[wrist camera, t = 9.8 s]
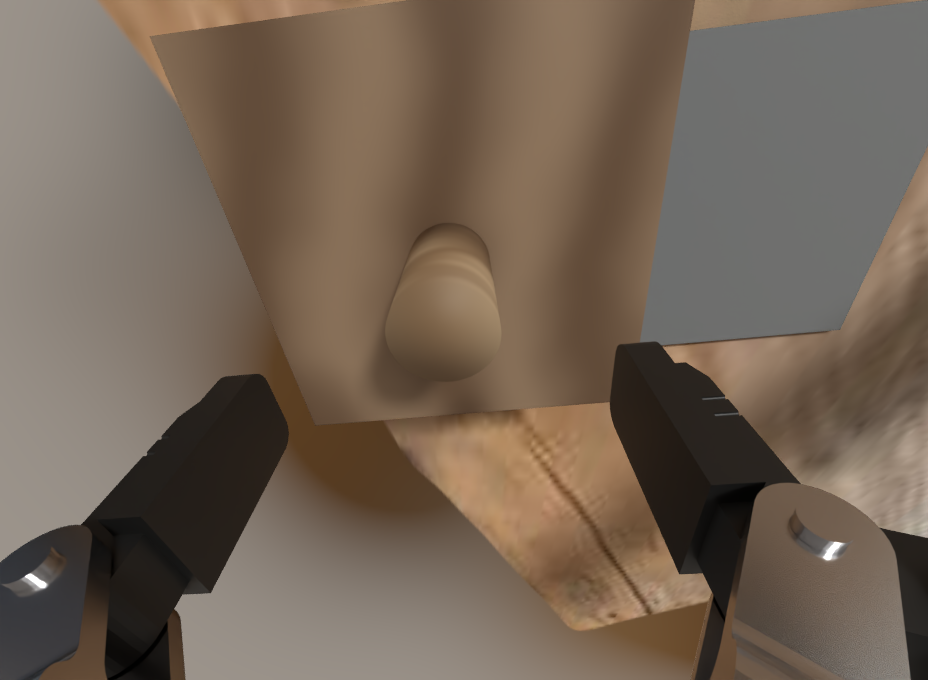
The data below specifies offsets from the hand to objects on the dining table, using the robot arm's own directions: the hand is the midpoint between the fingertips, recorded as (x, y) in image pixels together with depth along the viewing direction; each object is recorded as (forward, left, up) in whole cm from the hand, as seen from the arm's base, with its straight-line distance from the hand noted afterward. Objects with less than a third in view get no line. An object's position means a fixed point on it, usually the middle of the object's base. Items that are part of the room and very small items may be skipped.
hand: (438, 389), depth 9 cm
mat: (-17, +2, -17) cm, 24 cm away
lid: (0, 0, -9) cm, 9 cm away
